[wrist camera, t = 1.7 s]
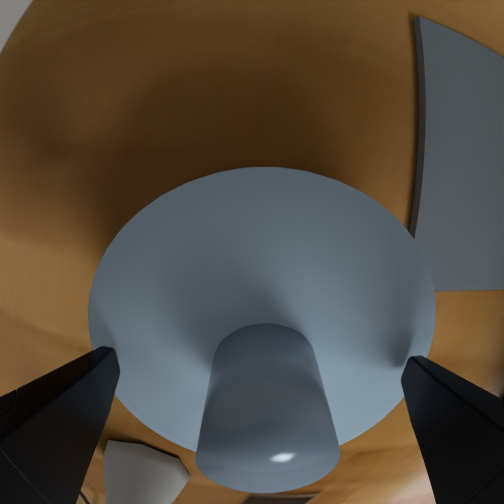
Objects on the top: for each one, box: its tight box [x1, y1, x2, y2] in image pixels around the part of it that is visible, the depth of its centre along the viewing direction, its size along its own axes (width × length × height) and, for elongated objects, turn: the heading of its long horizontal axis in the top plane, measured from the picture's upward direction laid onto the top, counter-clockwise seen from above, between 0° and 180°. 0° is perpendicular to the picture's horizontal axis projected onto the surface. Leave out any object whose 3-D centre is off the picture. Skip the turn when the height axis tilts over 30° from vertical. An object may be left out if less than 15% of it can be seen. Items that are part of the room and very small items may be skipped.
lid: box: [88, 167, 436, 493], centre depth 7 cm, size 11×11×4 cm
